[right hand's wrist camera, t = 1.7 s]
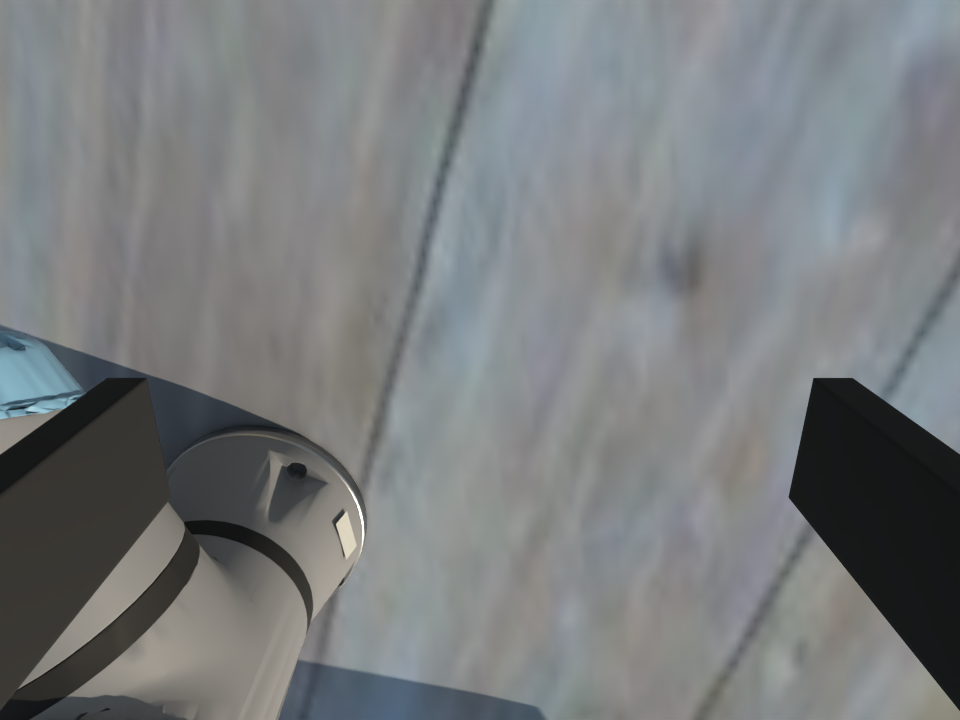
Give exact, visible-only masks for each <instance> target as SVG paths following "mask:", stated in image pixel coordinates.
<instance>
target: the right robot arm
mask: <svg viewBox="0 0 960 720" xmlns="http://www.w3.org/2000/svg"><path fill="white" fill-rule="evenodd" d="M789 499H790V500H791V501H792V502H793V504H794V505H795V506H796V507H797V509H798V510H799V511H800V512H801V514H802V515H803V516H804V517H805V518H806V520H807V521H808V522H809V523H810V525H811V526H812V527H813V528H814V530H815V531H816V532H817V533H818V535H819V536H820V537H821V538H822V540H823V541H824V542H825V543H826V545H827V546H828V547H829V548H830V550H831V551H832V552H833V553H834V555H835V556H836V557H837V558H838V560H839V561H840V562H841V563H842V565H843V566H844V567H845V568H846V570H847V571H848V572H849V573H850V575H851V576H852V577H853V578H854V580H855V581H856V582H857V583H858V585H859V586H860V587H861V588H862V590H863V591H864V592H865V593H866V595H867V596H868V597H869V598H870V600H871V601H872V602H873V603H874V605H875V606H876V607H877V608H878V609H879V611H880V612H881V613H882V614H883V616H884V617H885V618H886V619H887V621H888V622H889V623H890V624H891V626H892V627H893V628H894V629H895V631H896V632H897V633H898V634H899V636H900V637H901V638H902V639H903V641H904V642H905V643H906V644H907V646H908V647H909V648H910V649H911V651H912V652H913V653H914V654H915V656H916V657H917V658H918V659H919V661H920V662H921V663H922V664H923V666H924V667H925V668H926V669H927V671H928V672H929V673H930V674H931V676H932V677H933V678H934V679H935V681H936V682H937V683H938V684H939V686H940V687H941V688H942V689H943V691H944V692H945V693H946V694H947V696H948V697H949V698H950V699H951V700H952V702H953V703H954V704H955V705H956V707H957V708H958V709H959V710H960V454H958V453H957V452H956V451H954V450H953V449H951V448H950V447H949V446H947V445H946V444H944V443H943V442H942V441H940V440H939V439H937V438H936V437H935V436H933V435H932V434H930V433H929V432H928V431H926V430H925V429H923V428H922V427H921V426H919V425H918V424H916V423H915V422H913V421H912V420H911V419H909V418H908V417H906V416H905V415H904V414H902V413H901V412H899V411H898V410H897V409H895V408H894V407H892V406H891V405H890V404H888V403H887V402H885V401H884V400H883V399H881V398H880V397H878V396H877V395H876V394H874V393H873V392H871V391H870V390H869V389H867V388H866V387H864V386H863V385H862V384H860V383H859V382H857V381H856V380H855V379H853V378H813V383H812V388H811V393H810V398H809V402H808V407H807V412H806V417H805V421H804V426H803V431H802V436H801V441H800V445H799V450H798V455H797V460H796V465H795V469H794V474H793V479H792V484H791V488H790V493H789ZM366 529H367V516H366V509H365V505H364V501H363V498H362V495H361V493H360V491H359V489H358V487H357V485H356V483H355V481H354V480H353V478H352V477H351V475H350V474H349V473H348V471H347V470H346V469H345V468H344V466H343V465H342V464H341V463H340V462H339V461H338V460H337V459H336V458H334V457H333V456H332V455H331V454H330V453H328V452H327V451H326V450H324V449H323V448H322V447H320V446H318V445H317V444H315V443H314V442H312V441H310V440H308V439H306V438H304V437H301V436H299V435H296V434H294V433H291V432H288V431H284V430H280V429H276V428H270V427H263V426H240V427H232V428H227V429H223V430H219V431H216V432H213V433H211V434H208V435H206V436H204V437H202V438H200V439H199V440H197V441H195V442H194V443H193V444H191V445H190V446H189V447H187V448H186V449H185V450H184V451H183V452H182V453H181V454H180V455H179V456H178V458H177V459H176V460H175V461H174V462H173V463H172V464H171V466H170V467H169V468H168V469H167V471H166V469H165V465H164V460H163V455H162V450H161V445H160V441H159V436H158V431H157V426H156V421H155V417H154V412H153V407H152V402H151V398H150V393H149V388H148V383H147V378H107V379H105V380H104V381H103V382H101V383H100V384H98V385H97V386H96V387H94V388H93V389H91V390H90V391H89V392H87V393H86V392H85V391H84V390H83V389H82V388H81V386H80V385H79V384H78V383H77V382H76V380H75V379H74V378H73V377H72V376H71V375H70V373H69V372H68V371H67V370H66V369H65V367H64V366H63V365H62V364H61V363H60V362H59V360H58V359H57V358H56V357H55V356H54V354H53V353H52V352H51V351H50V350H49V349H48V348H47V347H46V346H45V345H44V344H43V343H42V342H40V341H39V340H37V339H36V338H34V337H32V336H29V335H27V334H24V333H20V332H14V331H0V720H278V719H279V715H280V712H281V709H282V706H283V703H284V700H285V697H286V694H287V691H288V688H289V685H290V682H291V679H292V676H293V673H294V670H295V667H296V664H297V661H298V658H299V654H300V651H301V648H302V645H303V642H304V639H305V636H306V634H307V631H308V628H309V625H310V622H311V621H312V619H313V618H314V617H315V616H316V615H317V613H318V612H319V611H320V609H321V608H322V606H323V605H324V603H325V602H326V601H327V600H328V599H329V598H330V597H332V596H333V595H334V594H335V593H336V592H337V591H338V590H339V589H340V588H341V587H342V586H343V584H344V583H345V582H346V581H347V579H348V578H349V576H350V575H351V573H352V571H353V569H354V567H355V566H356V564H357V562H358V560H359V557H360V554H361V551H362V547H363V544H364V540H365V536H366Z"/></svg>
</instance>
